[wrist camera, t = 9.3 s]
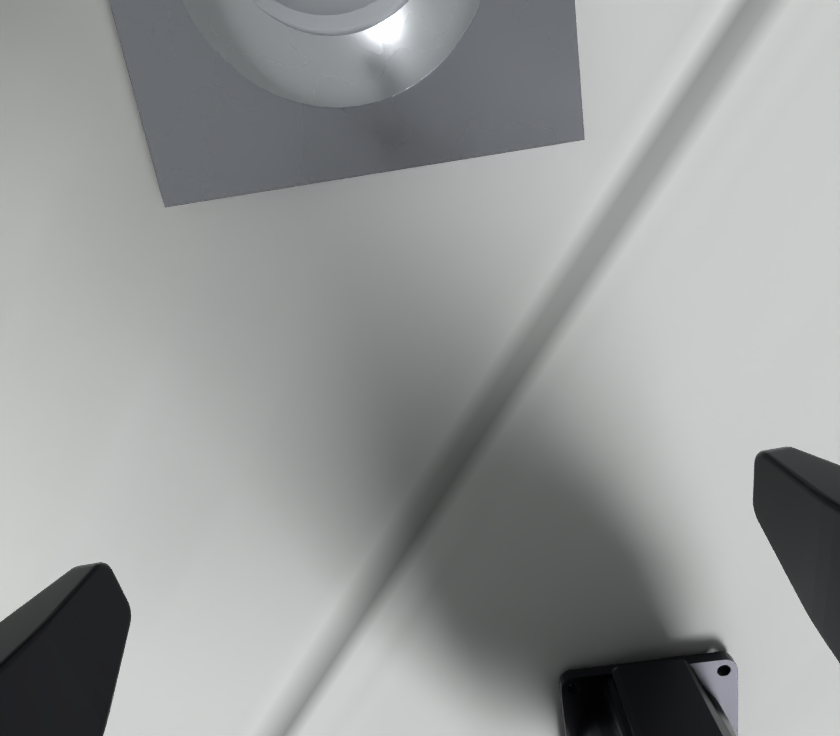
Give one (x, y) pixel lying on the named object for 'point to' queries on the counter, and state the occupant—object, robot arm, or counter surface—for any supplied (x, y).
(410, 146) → the flange plate
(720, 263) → the counter surface
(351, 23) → the grey cylinder
